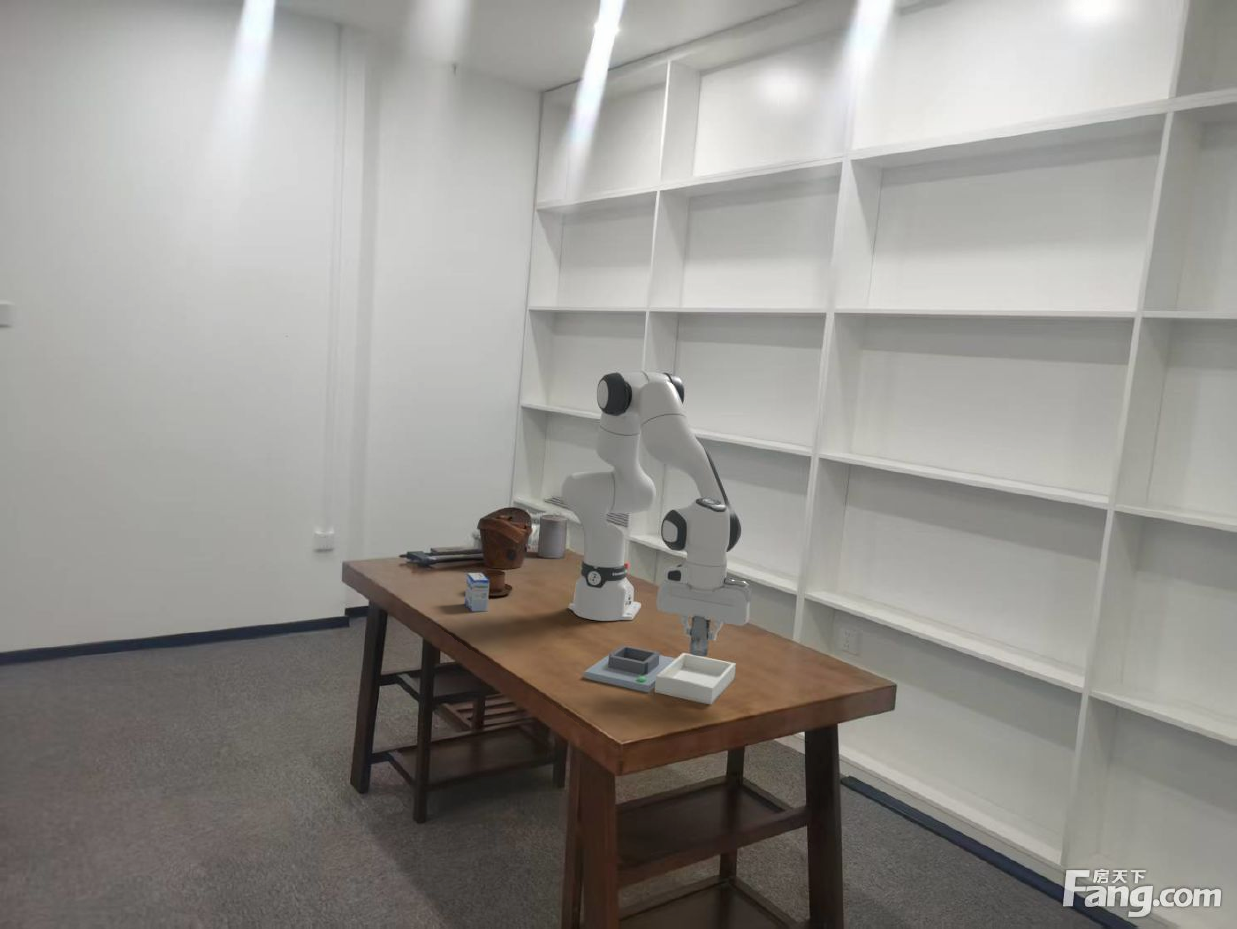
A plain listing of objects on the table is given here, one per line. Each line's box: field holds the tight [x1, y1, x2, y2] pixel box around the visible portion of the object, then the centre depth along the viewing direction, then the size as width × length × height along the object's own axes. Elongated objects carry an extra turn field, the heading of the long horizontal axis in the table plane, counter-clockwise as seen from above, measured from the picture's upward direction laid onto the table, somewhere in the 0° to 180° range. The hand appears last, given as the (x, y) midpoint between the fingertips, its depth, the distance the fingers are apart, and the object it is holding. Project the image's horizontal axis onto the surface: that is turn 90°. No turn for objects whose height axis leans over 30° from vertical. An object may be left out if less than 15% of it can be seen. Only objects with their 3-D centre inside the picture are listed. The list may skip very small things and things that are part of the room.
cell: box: [688, 616, 712, 657], centre depth 190 cm, size 4×4×9 cm
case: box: [476, 506, 533, 570], centre depth 288 cm, size 18×20×18 cm
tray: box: [654, 652, 737, 706], centre depth 192 cm, size 18×12×4 cm
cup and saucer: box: [479, 569, 514, 597], centre depth 253 cm, size 12×12×6 cm
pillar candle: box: [537, 513, 569, 560], centre depth 307 cm, size 10×10×15 cm
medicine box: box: [464, 572, 489, 613], centre depth 238 cm, size 8×4×9 cm, turn 23°
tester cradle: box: [583, 644, 677, 693], centre depth 197 cm, size 20×15×4 cm
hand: (700, 637), depth 191 cm, fingers closed on cell, 4 cm apart
